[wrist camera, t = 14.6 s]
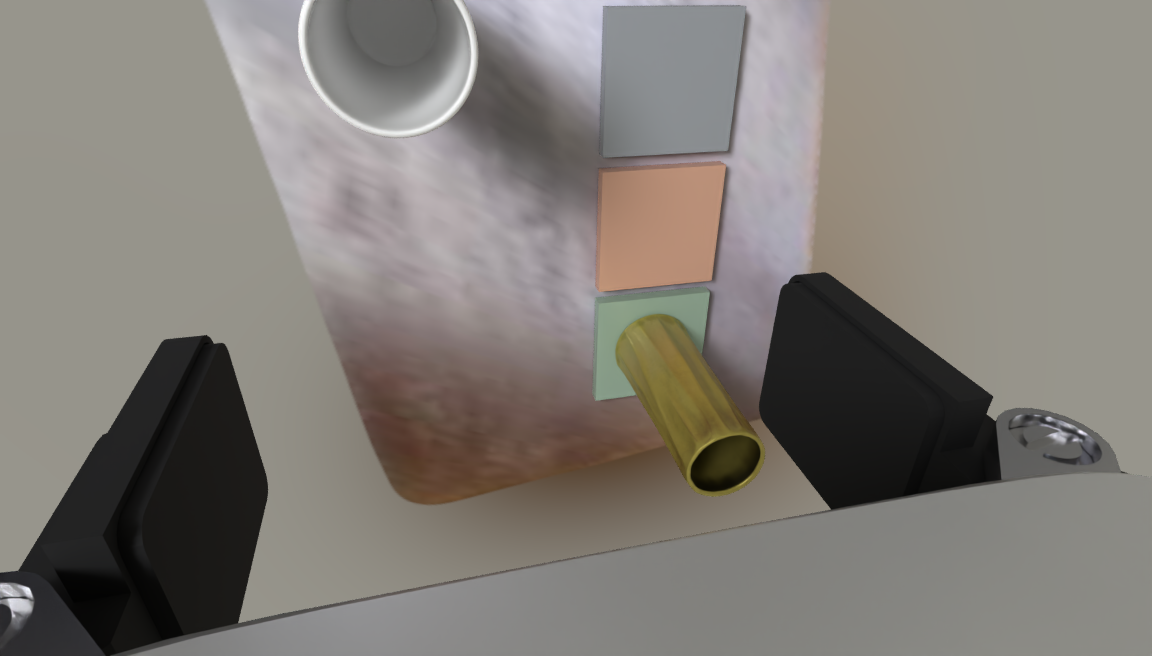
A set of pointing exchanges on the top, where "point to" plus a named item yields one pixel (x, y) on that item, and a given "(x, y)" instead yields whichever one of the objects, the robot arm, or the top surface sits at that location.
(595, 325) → the green coaster
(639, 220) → the terracotta coaster
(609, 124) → the grey coaster
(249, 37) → the top surface
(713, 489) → the vase
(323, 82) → the drinking glass
